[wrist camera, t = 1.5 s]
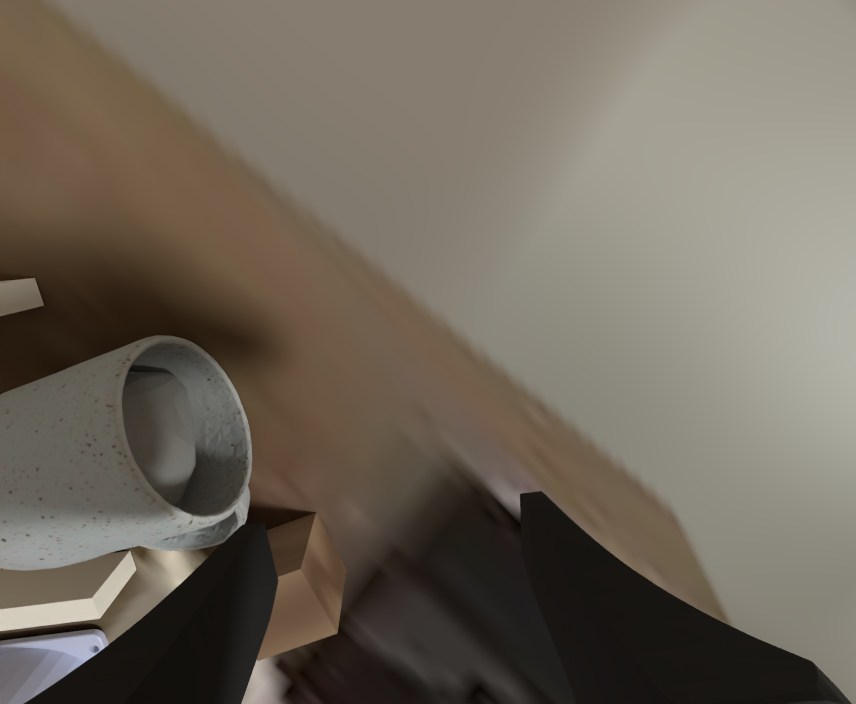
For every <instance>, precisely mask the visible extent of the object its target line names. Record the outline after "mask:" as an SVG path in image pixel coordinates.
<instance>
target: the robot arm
mask: <svg viewBox="0 0 856 704" xmlns="http://www.w3.org/2000/svg"><path fill="white" fill-rule="evenodd" d="M520 507H521V539H522V555H523V559H524V562H525V566H526V570H527V573H528V577H529V580H530V584H531V587H532V590H533V593H534V595H535V598H536V600H537V603H538V605H539V608H540V610H541V613H542V615H543V618H544V620H545V623H546V625H547V628H548V630H549V633H550V635H551V638H552V640H553V643H554V645H555V648H556V650H557V653H558V655H559V658H560V660H561V663H562V665H563V668H564V670H565V673H566V675H567V678H568V681H569V684H570V687H571V689H572V692H573V696H574V699H575V702H576V704H851V702H850V701H849V700H848V699H847V698H846V697H845V696H844V694H843V693H842V692H841V691H840V690H839V689H838V688H837V686H836V685H835V684H834V683H833V682H832V681H831V680H830V679H829V678H828V677H827V676H825V674H824V673H823V672H822V671H821V670H820V669H819V668H818V667H817V666H816V665H815V664H814V663H813V662H812V661H809V660H807V659H805V658H802V657H800V656H797V655H795V654H793V653H790V652H788V651H785V650H783V649H781V648H778V647H776V646H773V645H771V644H769V643H766V642H764V641H761V640H759V639H757V638H755V637H752V636H750V635H748V634H746V633H744V632H742V631H739V630H738V629H735V628H733V627H731V626H729V625H727V624H725V623H723V622H721V621H719V620H717V619H715V618H713V617H711V616H709V615H707V614H705V613H704V612H702V611H700V610H698V609H696V608H694V607H693V606H691V605H689V604H687V603H686V602H684V601H682V600H680V599H679V598H677V597H675V596H673V595H672V594H670V593H668V592H667V591H665V590H663V589H662V588H660V587H658V586H657V585H655V584H654V583H652V582H651V581H649V580H648V579H646V578H645V577H643V576H642V575H640V574H639V573H637V572H636V571H634V570H633V569H631V568H630V567H629V566H627V565H626V564H624V563H623V562H622V561H620V560H619V559H618V558H616V557H615V556H614V555H613V554H611V553H610V552H609V551H607V550H606V549H605V548H604V547H603V546H601V545H600V544H599V543H598V542H596V541H595V540H594V539H593V538H592V537H591V536H590V535H588V534H587V533H586V532H585V531H584V530H583V529H581V528H580V527H579V526H578V525H577V524H576V523H575V522H574V521H573V520H571V519H570V518H569V517H568V516H567V515H566V514H565V513H564V512H563V511H562V510H561V509H560V508H559V507H558V506H557V505H556V504H555V503H554V502H552V501H551V500H550V499H549V498H548V497H547V496H546V495H545V494H544V493H543V492H542V491H540V492H531V493H522V494H520ZM277 586H278V576H277V572H276V568H275V564H274V560H273V556H272V552H271V548H270V544H269V540H268V536H267V532H266V527H265V523H264V522H262V523H253V524H244V525H241V526H240V527H239V528H238V529H237V530H236V531H235V532H234V533H233V534H232V535H231V536H230V537H229V538H228V539H227V540H226V541H225V542H224V543H223V544H221V545H220V546H219V547H218V548H217V549H216V550H215V551H214V552H213V553H212V554H211V555H210V556H209V557H208V558H207V559H206V560H205V561H204V562H203V563H202V564H201V565H200V566H199V567H198V568H197V569H196V570H195V571H194V572H193V573H192V574H191V575H190V576H189V577H188V578H187V579H185V580H184V581H183V582H182V583H181V584H180V585H179V586H178V587H177V588H176V589H174V590H173V591H172V592H171V593H170V594H169V595H168V596H167V597H166V598H164V599H163V600H162V601H161V602H160V603H159V604H158V605H157V606H156V607H154V608H153V609H152V610H151V611H150V612H149V613H148V614H146V615H145V616H144V617H143V618H142V619H141V620H139V621H138V622H137V623H136V624H134V625H133V626H132V627H131V628H130V629H128V630H127V631H126V632H125V633H123V634H122V635H121V636H119V637H118V638H117V639H115V640H114V641H113V642H112V643H110V644H108V642H107V639H106V637H105V634H104V633H103V632H102V631H101V630H98V629H90V630H82V631H74V632H66V633H58V634H50V635H42V636H35V637H27V638H19V639H11V640H3V641H0V704H241V703H242V700H243V697H244V694H245V691H246V688H247V685H248V682H249V680H250V677H251V674H252V671H253V668H254V665H255V662H256V660H257V657H258V654H259V651H260V648H261V645H262V642H263V639H264V636H265V633H266V630H267V627H268V624H269V621H270V618H271V614H272V609H273V605H274V601H275V596H276V591H277Z"/></svg>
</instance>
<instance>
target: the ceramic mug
mask: <svg viewBox="0 0 856 704" xmlns="http://www.w3.org/2000/svg"><path fill="white" fill-rule="evenodd" d="M251 470H252V443H251V438H250V429H249V425H248V420H247V417H246V414H245V411H244V408H243V406H242V404H241V401H240V399H239V396H238V394H237V392H236V390H235V388H234V386H233V384H232V383H231V381H230V379H229V378H228V377H227V375H226V373H225V372H224V370H223V369H222V368H221V367H220V365H219V364H218V363H217V362H216V360H215V359H214V358H213V357H212V356H210V355H209V354H208V353H207V352H205V351H204V350H203V349H202V348H201V347H199V346H198V345H196V344H194V343H193V342H191V341H189V340H186V339H183V338H180V337H175V336H165V335H156V336H151V337H147V338H144V339H141V340H138V341H136V342H133V343H130V344H128V345H126V346H124V347H121V348H118V349H116V350H113V351H111V352H108V353H105V354H103V355H100V356H97V357H95V358H92V359H90V360H87V361H84V362H82V363H79V364H77V365H74V366H72V367H69V368H67V369H64V370H62V371H60V372H57V373H55V374H52V375H49V376H47V377H44V378H41V379H39V380H36V381H34V382H31V383H28V384H26V385H23V386H20V387H18V388H15V389H13V390H10V391H7V392H5V393H2V394H1V395H0V569H4V570H22V571H27V570H40V569H50V568H59V567H63V566H67V565H71V564H75V563H79V562H83V561H87V560H90V559H93V558H96V557H99V556H102V555H105V554H108V553H111V552H115V551H119V550H123V549H126V548H130V547H135V546H143V547H146V548H149V549H155V550H165V551H187V550H197V549H202V548H207V547H211V546H215V545H219V544H222V543H224V542H225V541H226V540H227V539H228V538H229V537H230V536H231V535H232V534H233V533H234V532H235V531H236V530H237V529H238V528H239V527H240V526H241V525H244V524H245V522H246V519H247V513H248V508H249V503H250V491H249V488H248V483H249V479H250V475H251Z"/></svg>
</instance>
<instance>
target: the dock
mask: <svg viewBox="0 0 856 704" xmlns="http://www.w3.org/2000/svg"><path fill="white" fill-rule="evenodd" d="M40 306H44V303H43V300H42V298H41V295H40V292H39V289H38V286H37V283H36V280H35V278H28V279H18V280H7V281H0V316H4V315H8V314H12V313H16V312H20V311H24V310H28V309H32V308H36V307H40ZM135 571H136V567H135V564H134V561H133V558H132V556H131V553H130V551H124V552H116V553H108V554H105V555H102V556H99V557H96V558H93V559H90V560H87V561H83V562H79V563H75V564H71V565H67V566H63V567H59V568H50V569H40V570H27V571H22V570H4V569H0V631H4V630H12V629H20V628H28V627H36V626H44V625H52V624H60V623H68V622H76V621H84V620H92V619H100V618H101V616H102V615H103V614H104V612H105V611H106V610H107V608H108V607H109V606H110V604H111V603H112V602H113V600H114V599H115V598H116V596H117V595H118V593H119V592H120V591H121V589H122V588H123V587H124V585H125V584H126V583H127V581H128V580H129V579H130V577H131V576H132V575H133V573H134V572H135Z"/></svg>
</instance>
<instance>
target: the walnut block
mask: <svg viewBox="0 0 856 704" xmlns="http://www.w3.org/2000/svg"><path fill="white" fill-rule="evenodd" d="M266 532H267V536H268V540H269V544H270V548H271V552H272V556H273V560H274V564H275V568H276V572H277V576H278V586H277V591H276V596H275V601H274V605H273V609H272V614H271V618H270V621H269V624H268V627H267V630H266V633H265V636H264V639H263V642H262V645H261V648H260V651H259V654H258V657H257V660H258V661H259V660H262V659H265V658H268V657H271V656H273V655H276V654H279V653H282V652H285V651H288V650H291V649H294V648H296V647H299V646H302V645H305V644H308V643H311V642H314V641H316V640H319V639H322V638H325V637H328V636H331V635H334V634H337V632H338V625H339V618H340V611H341V604H342V597H343V590H344V583H345V576H346V568H345V566H344V564H343V562H342V560H341V558H340V556H339V555H338V553H337V551H336V549H335V547H334V545H333V543H332V541H331V539H330V538H329V536H328V534H327V532H326V530H325V528H324V526H323V524H322V522H321V521H320V519H319V517H318V515H317V513H313V514H310V515H308V516H305V517H302V518H299V519H297V520H294V521H291V522H288V523H285V524H283V525H280V526H277V527H274V528H272V529H269V530H266Z"/></svg>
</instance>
